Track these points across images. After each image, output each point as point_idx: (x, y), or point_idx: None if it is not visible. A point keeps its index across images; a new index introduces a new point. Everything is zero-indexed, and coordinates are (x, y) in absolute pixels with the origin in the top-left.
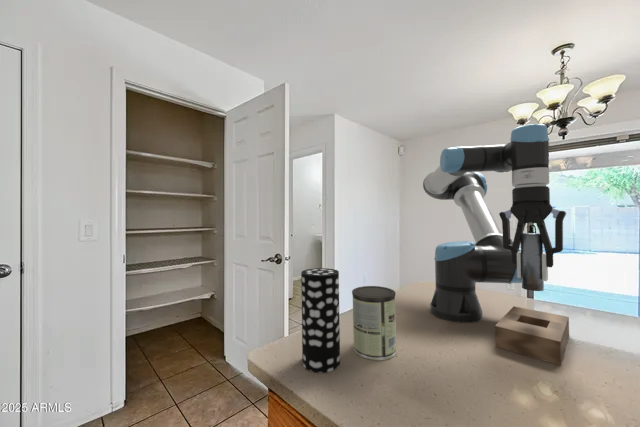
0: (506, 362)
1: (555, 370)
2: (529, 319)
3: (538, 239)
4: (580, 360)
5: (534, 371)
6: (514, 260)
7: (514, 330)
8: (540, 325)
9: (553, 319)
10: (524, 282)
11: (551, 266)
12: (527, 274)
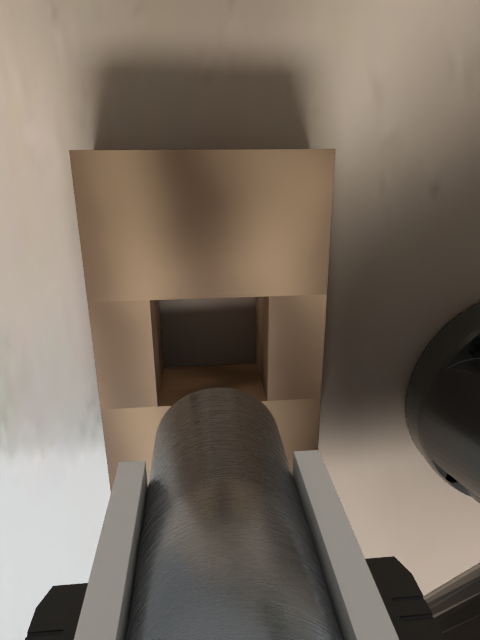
0: (245, 15)
1: (98, 88)
2: None
3: None
4: (56, 256)
5: (150, 12)
6: (396, 590)
7: (250, 151)
8: (193, 389)
9: (151, 436)
10: (262, 425)
11: (50, 595)
12: (246, 457)
